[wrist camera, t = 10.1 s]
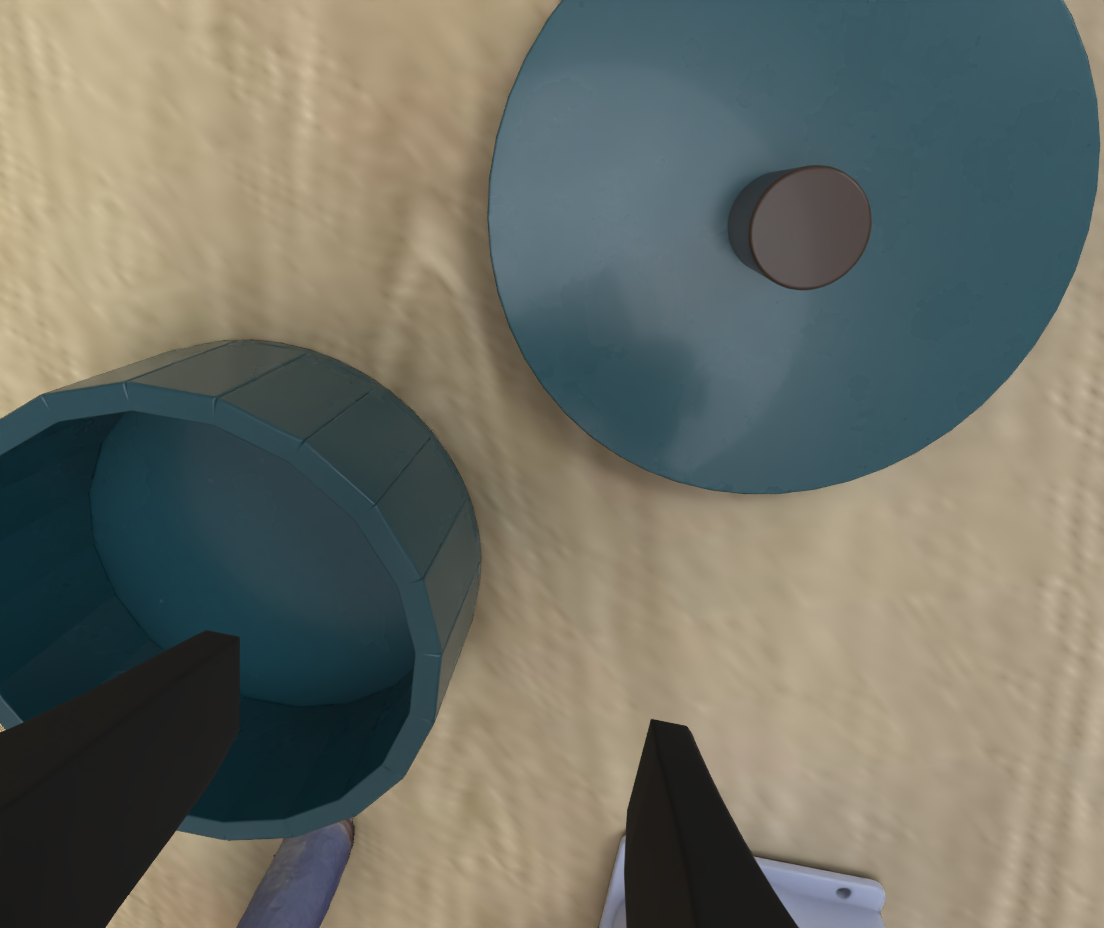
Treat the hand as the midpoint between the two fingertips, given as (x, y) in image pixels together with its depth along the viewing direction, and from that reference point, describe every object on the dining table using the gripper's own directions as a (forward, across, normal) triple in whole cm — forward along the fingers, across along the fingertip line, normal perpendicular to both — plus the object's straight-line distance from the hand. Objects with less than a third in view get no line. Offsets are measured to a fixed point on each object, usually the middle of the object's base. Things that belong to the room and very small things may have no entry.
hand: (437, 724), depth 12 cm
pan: (+10, +8, +3) cm, 13 cm away
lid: (+10, -5, -9) cm, 14 cm away
